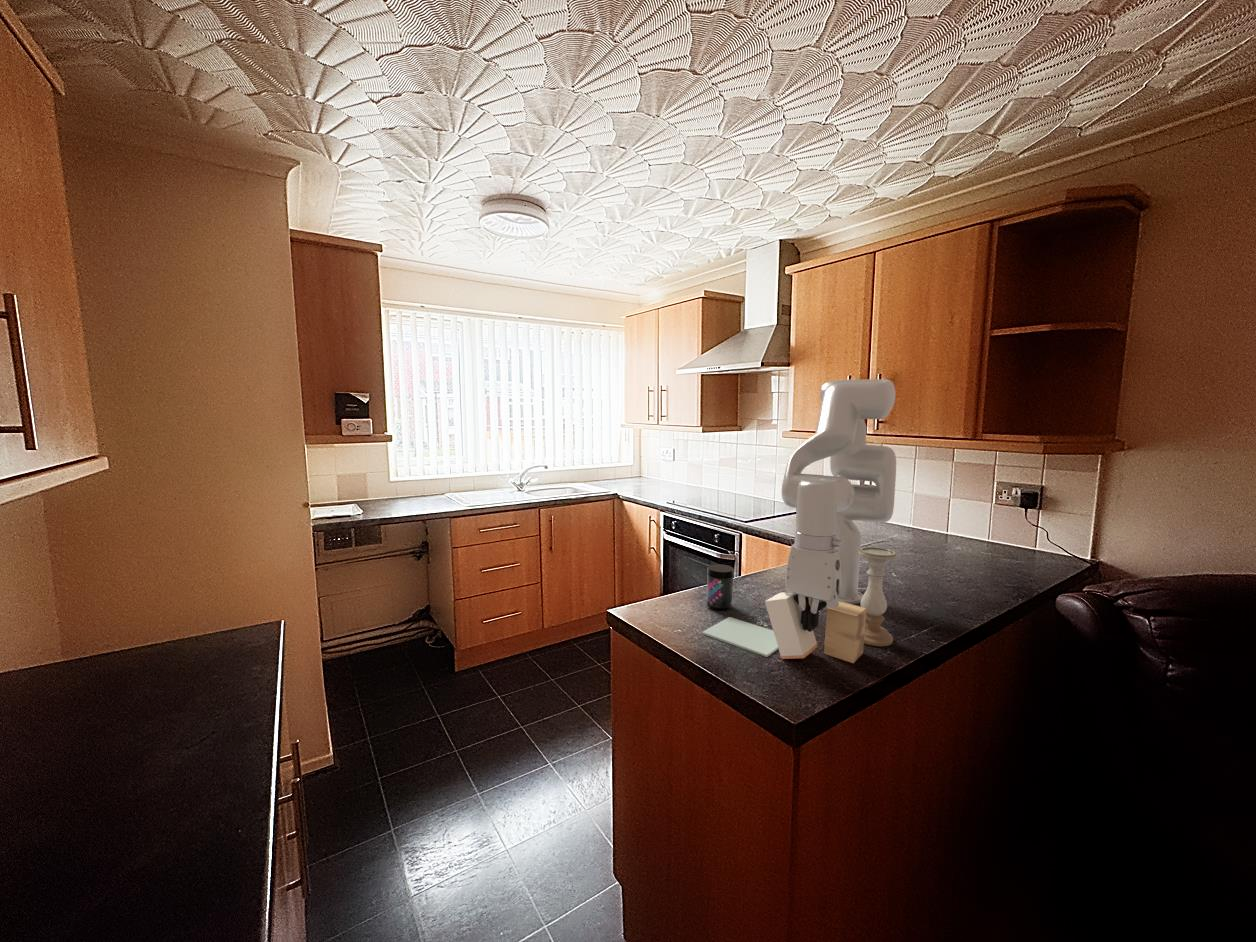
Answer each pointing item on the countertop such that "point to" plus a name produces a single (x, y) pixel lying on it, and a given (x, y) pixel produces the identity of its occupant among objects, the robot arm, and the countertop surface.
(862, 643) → the oak block
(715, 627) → the mat
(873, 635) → the candle holder
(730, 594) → the supplement container
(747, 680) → the countertop surface
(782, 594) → the cream block
